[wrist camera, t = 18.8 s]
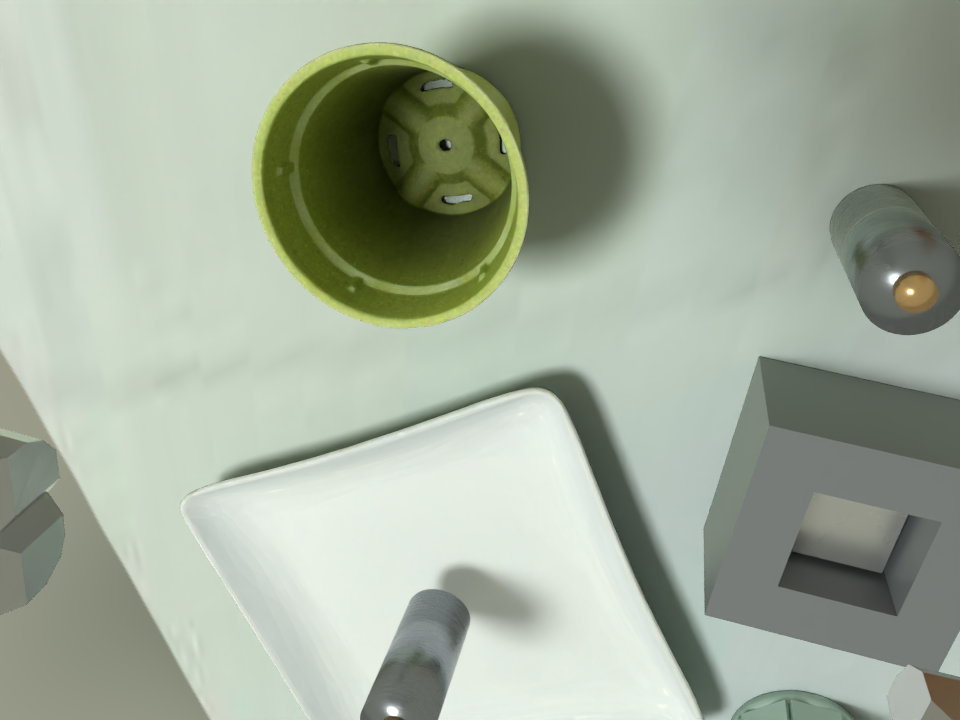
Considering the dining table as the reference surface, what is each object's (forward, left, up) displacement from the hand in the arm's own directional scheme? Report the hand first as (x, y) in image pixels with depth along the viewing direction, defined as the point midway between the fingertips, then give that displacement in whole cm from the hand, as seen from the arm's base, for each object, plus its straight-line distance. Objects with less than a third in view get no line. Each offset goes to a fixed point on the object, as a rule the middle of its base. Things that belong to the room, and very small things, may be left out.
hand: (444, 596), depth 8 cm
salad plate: (-4, -26, -30) cm, 40 cm away
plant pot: (-7, -3, -29) cm, 30 cm away
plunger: (+12, -14, -26) cm, 32 cm away
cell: (-4, -25, -26) cm, 37 cm away
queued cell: (+10, -3, -29) cm, 31 cm away
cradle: (+12, -14, -29) cm, 34 cm away
